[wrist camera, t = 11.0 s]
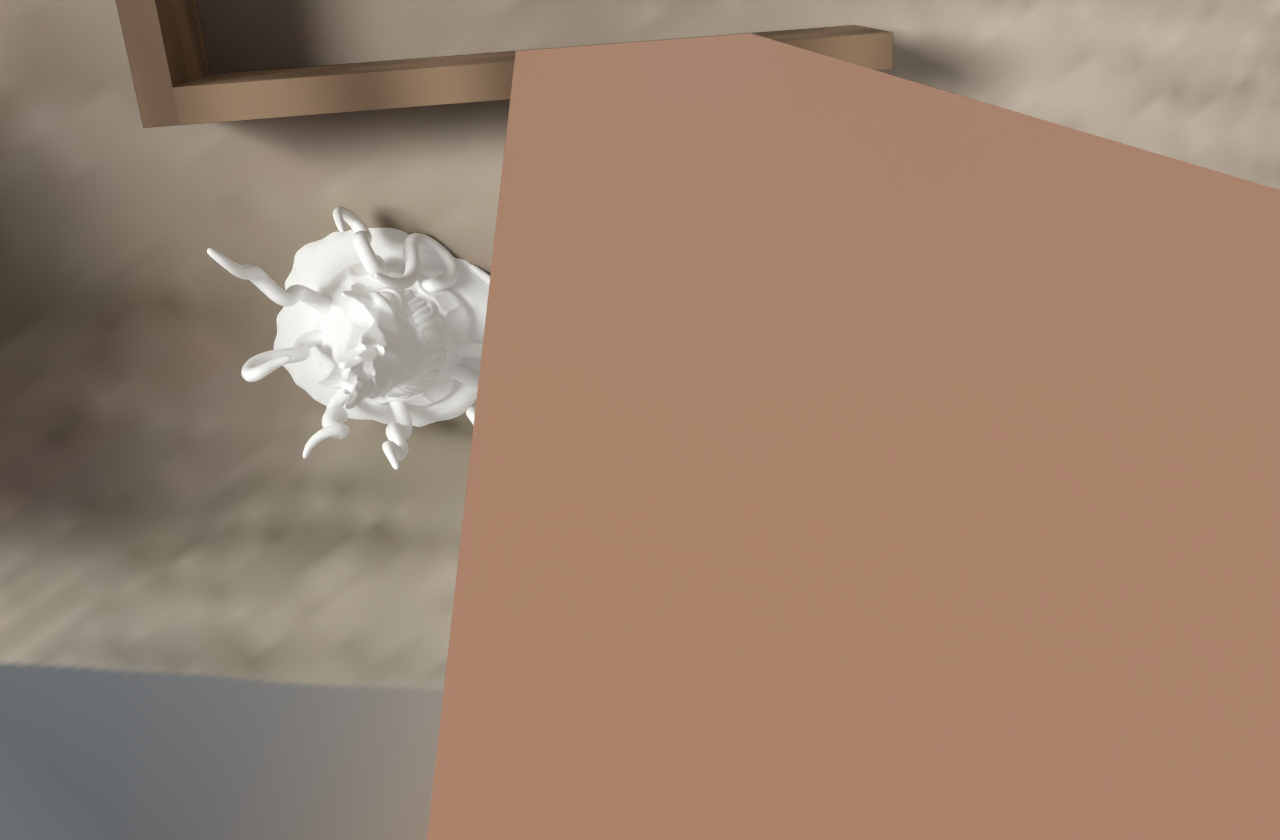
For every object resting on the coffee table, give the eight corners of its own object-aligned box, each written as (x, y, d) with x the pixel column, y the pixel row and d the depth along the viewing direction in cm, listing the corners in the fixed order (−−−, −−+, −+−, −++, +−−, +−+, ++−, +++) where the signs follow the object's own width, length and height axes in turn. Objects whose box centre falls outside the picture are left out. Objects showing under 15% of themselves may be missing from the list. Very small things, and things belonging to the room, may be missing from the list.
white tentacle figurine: (495, 458, 50) (490, 563, 41) (207, 382, 47) (137, 475, 39) (557, 262, 47) (565, 329, 38) (254, 170, 45) (190, 219, 36)
